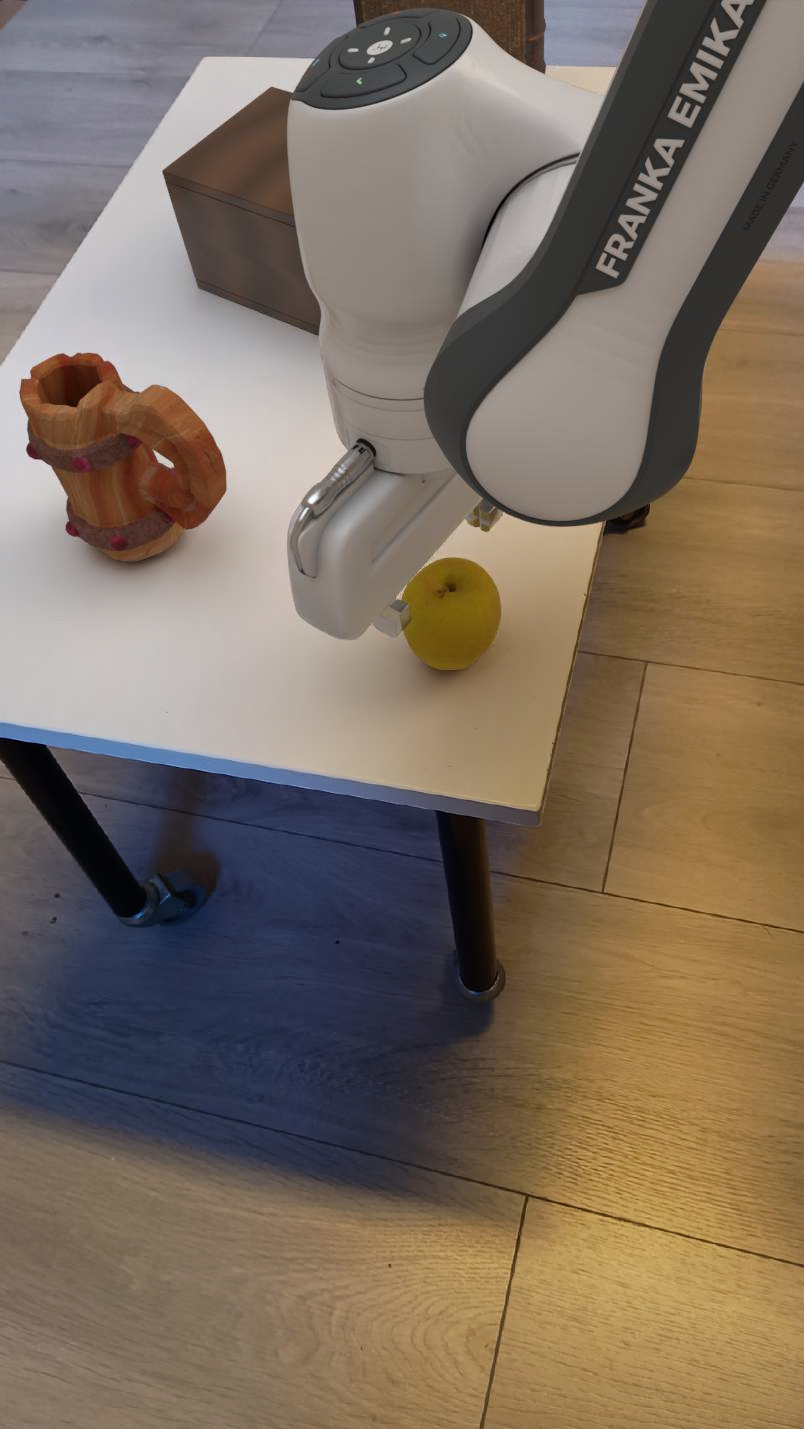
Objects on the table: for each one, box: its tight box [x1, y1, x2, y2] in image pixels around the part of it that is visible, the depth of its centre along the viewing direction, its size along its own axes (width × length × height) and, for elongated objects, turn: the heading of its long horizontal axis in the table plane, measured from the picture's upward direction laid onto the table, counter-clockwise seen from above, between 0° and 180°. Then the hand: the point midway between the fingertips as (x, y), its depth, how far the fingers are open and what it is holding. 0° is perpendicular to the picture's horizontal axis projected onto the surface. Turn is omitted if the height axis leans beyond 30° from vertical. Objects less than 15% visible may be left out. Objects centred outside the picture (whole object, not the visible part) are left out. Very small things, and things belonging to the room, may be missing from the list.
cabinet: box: [161, 86, 321, 336], centre depth 93 cm, size 17×14×11 cm
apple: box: [400, 556, 502, 671], centre depth 69 cm, size 6×6×8 cm
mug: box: [18, 352, 228, 562], centre depth 75 cm, size 15×8×15 cm, turn 62°
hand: (439, 572), depth 66 cm, fingers open, 8 cm apart
